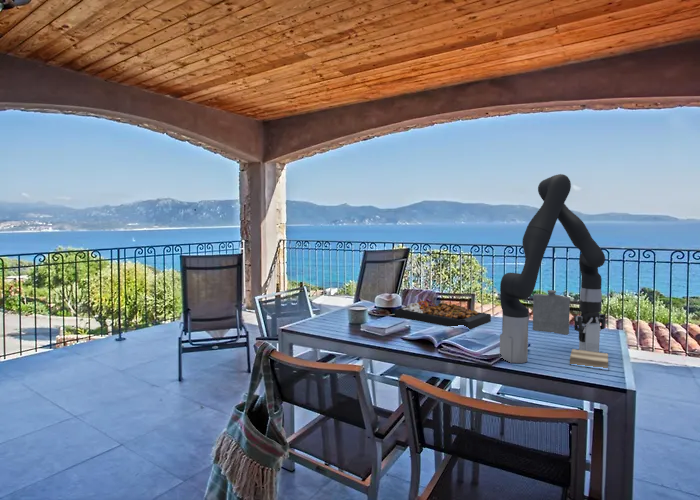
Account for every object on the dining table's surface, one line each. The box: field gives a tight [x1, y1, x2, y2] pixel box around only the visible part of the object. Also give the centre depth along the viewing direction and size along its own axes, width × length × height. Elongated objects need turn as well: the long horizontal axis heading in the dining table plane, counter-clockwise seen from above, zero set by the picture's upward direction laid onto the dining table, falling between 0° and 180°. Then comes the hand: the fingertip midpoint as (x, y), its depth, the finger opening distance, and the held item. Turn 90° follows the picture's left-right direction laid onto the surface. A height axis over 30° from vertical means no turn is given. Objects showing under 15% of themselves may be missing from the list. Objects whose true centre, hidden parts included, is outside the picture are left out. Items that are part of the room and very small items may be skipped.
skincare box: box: [578, 323, 601, 352], centre depth 171 cm, size 6×4×12 cm
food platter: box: [394, 295, 492, 330], centre depth 233 cm, size 45×25×10 cm, turn 47°
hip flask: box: [532, 289, 571, 336], centre depth 205 cm, size 16×4×20 cm, turn 54°
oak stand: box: [569, 348, 609, 369], centre depth 159 cm, size 12×12×3 cm
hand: (589, 340), depth 171 cm, fingers closed on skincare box, 6 cm apart
